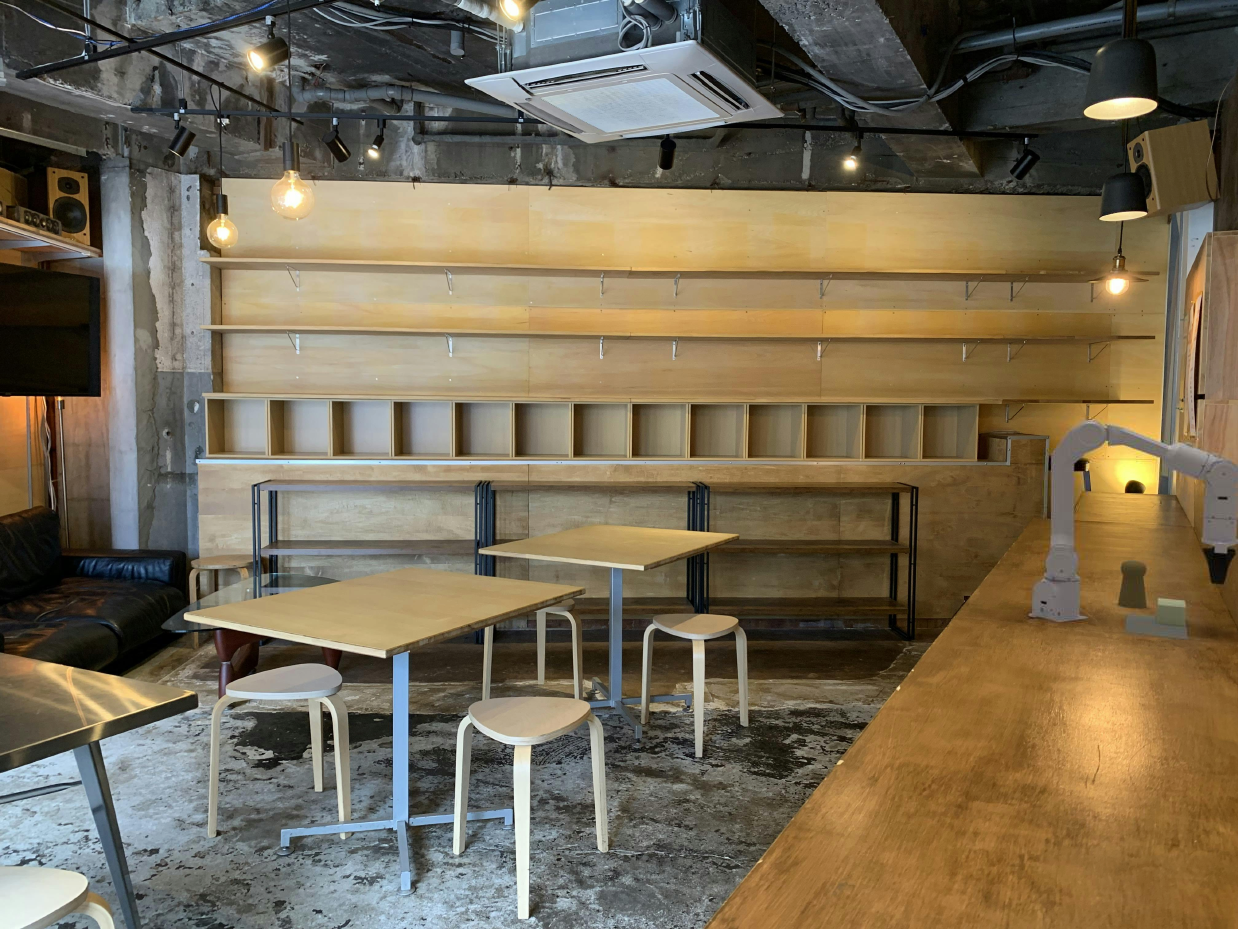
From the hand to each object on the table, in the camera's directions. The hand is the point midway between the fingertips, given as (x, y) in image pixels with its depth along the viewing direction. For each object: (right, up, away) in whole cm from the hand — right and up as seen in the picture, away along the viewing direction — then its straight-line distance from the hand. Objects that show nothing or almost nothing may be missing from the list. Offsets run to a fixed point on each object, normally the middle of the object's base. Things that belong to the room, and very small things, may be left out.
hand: (1217, 583), depth 183 cm
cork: (-3, -9, +24) cm, 26 cm away
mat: (-10, -10, +5) cm, 15 cm away
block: (-6, -8, +6) cm, 11 cm away
